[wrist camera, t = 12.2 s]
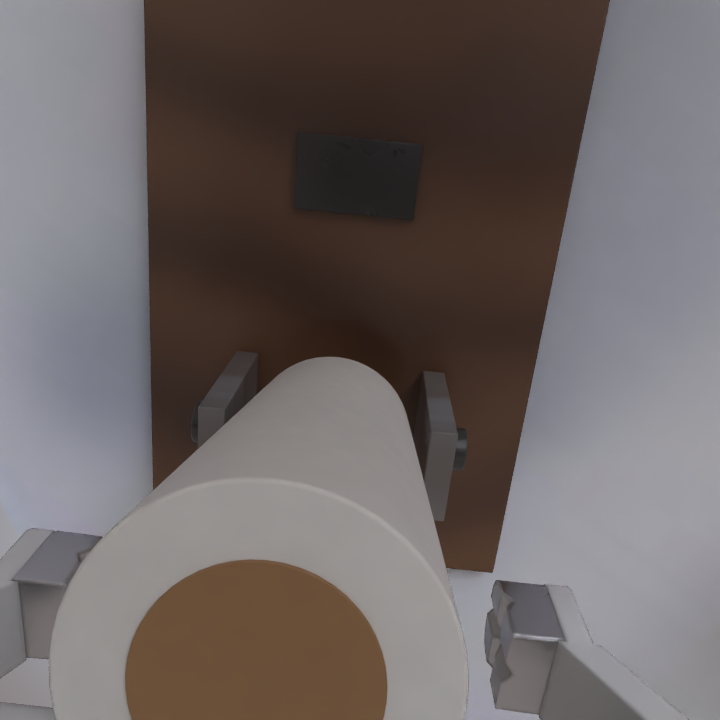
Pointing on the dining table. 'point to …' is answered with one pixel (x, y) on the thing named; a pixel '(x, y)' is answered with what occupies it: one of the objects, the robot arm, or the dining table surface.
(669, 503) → the dining table surface
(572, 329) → the dining table surface
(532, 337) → the holder
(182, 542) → the paper roll
